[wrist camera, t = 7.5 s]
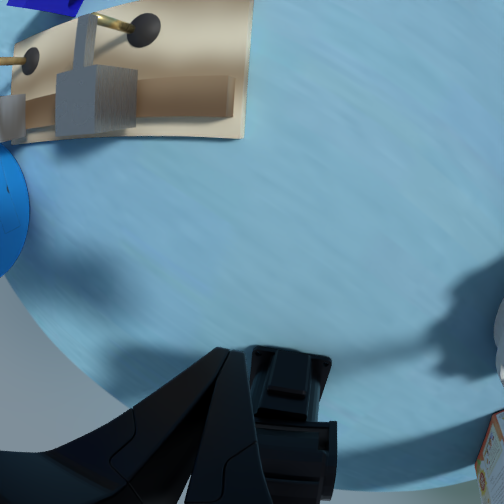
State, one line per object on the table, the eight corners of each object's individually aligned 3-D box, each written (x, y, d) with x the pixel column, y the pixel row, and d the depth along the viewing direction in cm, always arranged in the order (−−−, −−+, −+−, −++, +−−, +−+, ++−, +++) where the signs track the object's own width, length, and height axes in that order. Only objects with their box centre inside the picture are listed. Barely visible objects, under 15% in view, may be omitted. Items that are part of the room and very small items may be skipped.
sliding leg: (144, 126, 18) (94, 133, 13) (107, 127, 18) (55, 136, 14) (151, 20, 15) (103, 2, 10) (112, 28, 15) (62, 16, 11)
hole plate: (243, 137, 19) (200, 150, 12) (18, 143, 22) (-43, 161, 16) (254, -8, 15) (218, -62, 8) (22, 44, 18) (-40, 44, 11)
